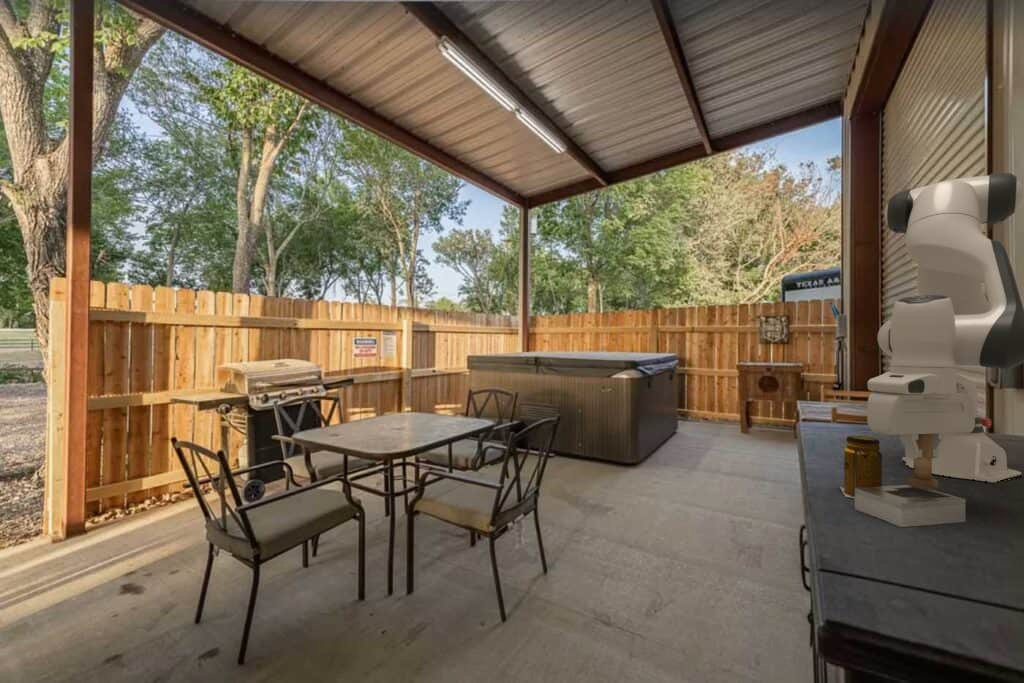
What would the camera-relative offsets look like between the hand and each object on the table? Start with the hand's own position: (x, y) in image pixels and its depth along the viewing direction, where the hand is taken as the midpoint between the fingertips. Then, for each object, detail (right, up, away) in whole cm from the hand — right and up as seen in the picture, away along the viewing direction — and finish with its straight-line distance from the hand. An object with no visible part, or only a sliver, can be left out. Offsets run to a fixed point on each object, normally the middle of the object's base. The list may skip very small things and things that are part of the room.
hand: (921, 457), depth 78 cm
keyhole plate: (-3, -10, -1) cm, 11 cm away
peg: (0, -5, 0) cm, 5 cm away
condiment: (-2, -11, +9) cm, 14 cm away
